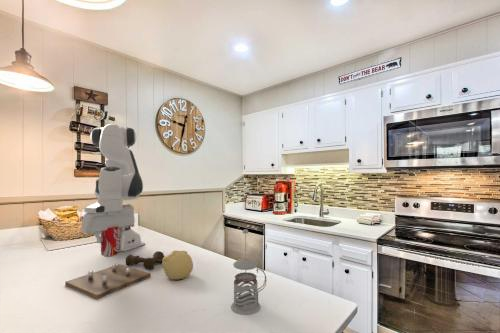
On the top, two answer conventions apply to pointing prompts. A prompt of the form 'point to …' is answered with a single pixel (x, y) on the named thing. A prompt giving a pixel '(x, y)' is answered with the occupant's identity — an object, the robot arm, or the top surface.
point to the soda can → (110, 241)
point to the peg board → (107, 280)
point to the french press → (246, 301)
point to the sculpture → (177, 265)
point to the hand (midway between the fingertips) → (109, 240)
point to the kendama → (145, 260)
